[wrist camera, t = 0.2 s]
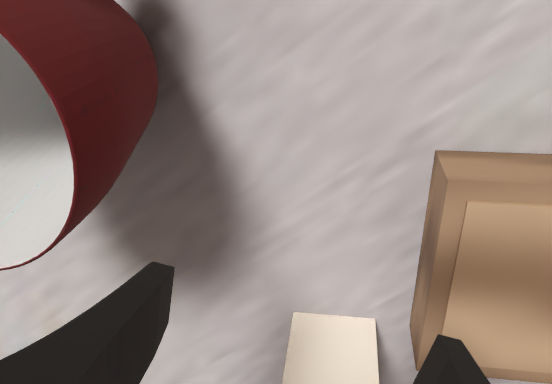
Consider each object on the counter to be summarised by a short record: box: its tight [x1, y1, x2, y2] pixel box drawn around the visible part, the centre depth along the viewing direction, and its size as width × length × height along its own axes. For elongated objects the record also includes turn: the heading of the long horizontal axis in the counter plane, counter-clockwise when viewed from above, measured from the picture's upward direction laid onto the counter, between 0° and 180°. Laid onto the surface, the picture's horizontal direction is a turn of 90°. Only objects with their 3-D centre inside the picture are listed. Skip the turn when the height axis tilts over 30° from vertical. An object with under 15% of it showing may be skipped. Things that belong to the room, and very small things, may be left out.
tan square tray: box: [410, 150, 552, 384], centre depth 20 cm, size 10×10×3 cm
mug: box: [0, 0, 158, 270], centre depth 15 cm, size 11×8×10 cm
